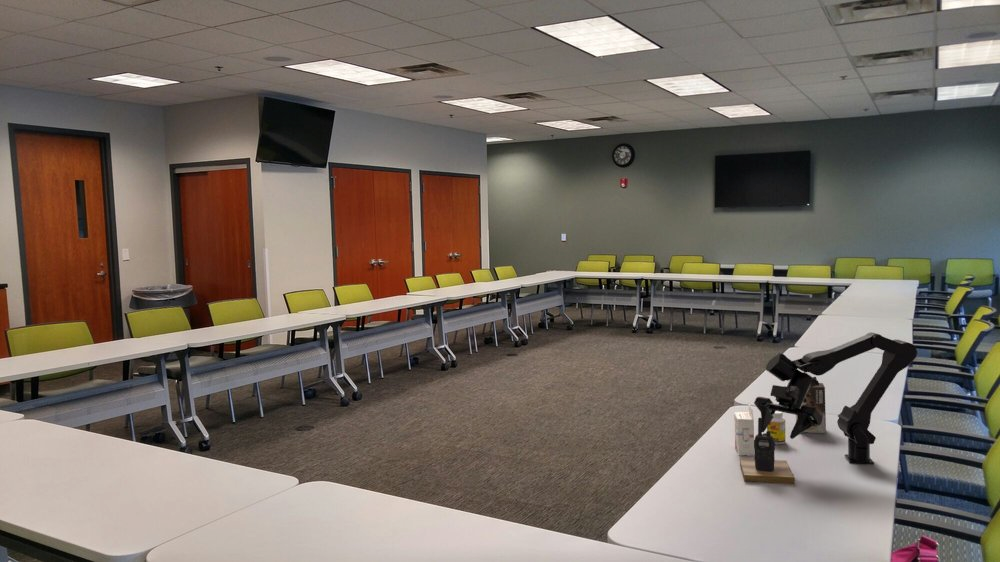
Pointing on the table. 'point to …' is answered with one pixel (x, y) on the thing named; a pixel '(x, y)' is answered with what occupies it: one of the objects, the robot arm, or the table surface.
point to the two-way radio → (764, 450)
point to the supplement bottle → (777, 428)
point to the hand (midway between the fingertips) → (776, 434)
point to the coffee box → (817, 400)
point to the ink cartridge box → (744, 432)
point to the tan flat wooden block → (767, 472)
